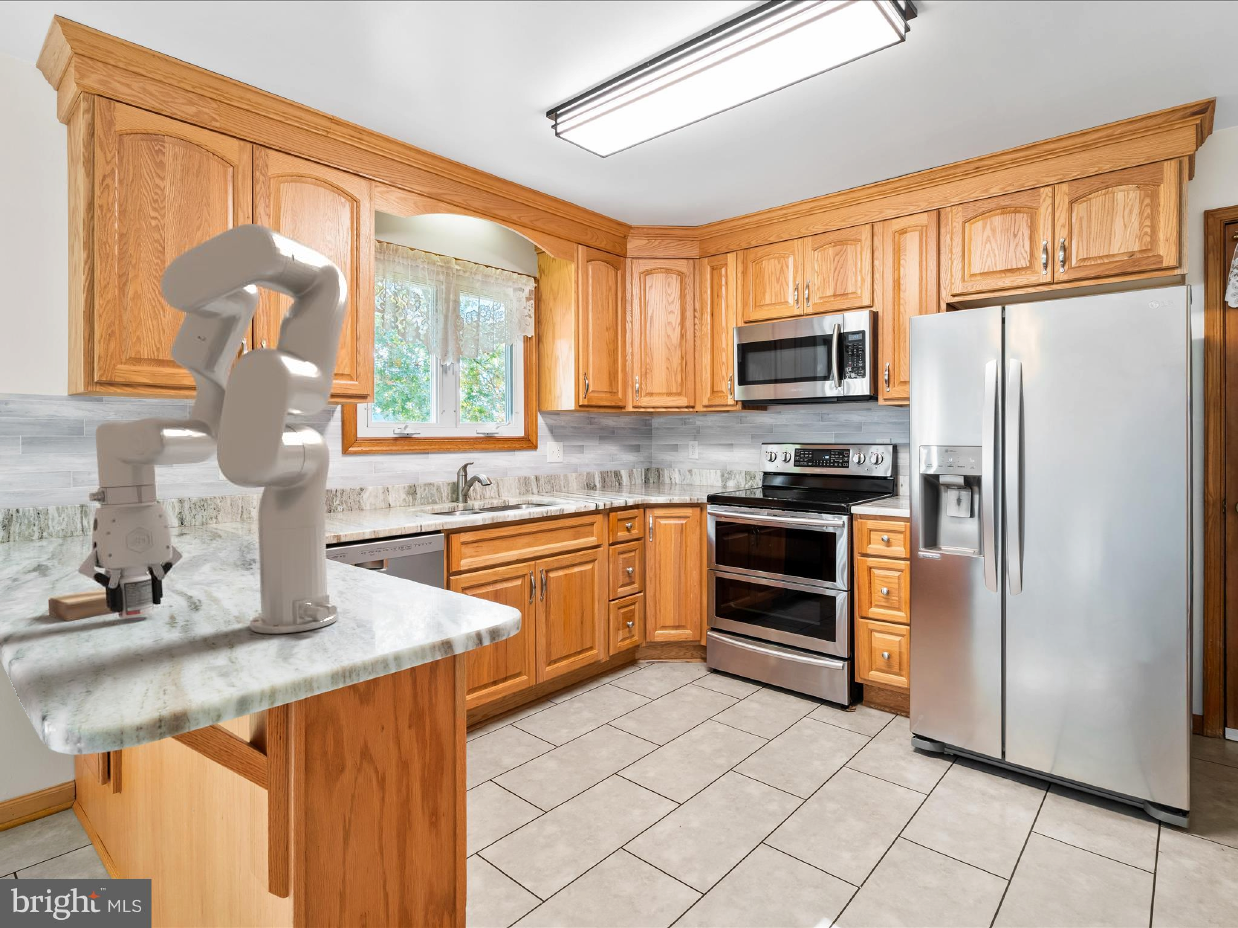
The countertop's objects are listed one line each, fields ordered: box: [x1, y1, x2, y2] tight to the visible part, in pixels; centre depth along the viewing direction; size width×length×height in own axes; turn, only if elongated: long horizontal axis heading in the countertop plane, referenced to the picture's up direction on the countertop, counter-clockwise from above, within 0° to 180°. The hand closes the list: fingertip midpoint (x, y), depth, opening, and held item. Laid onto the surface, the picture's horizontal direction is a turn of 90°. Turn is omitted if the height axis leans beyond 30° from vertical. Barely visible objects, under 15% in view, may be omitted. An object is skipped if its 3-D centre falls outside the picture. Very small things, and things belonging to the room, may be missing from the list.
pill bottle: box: [117, 565, 155, 619], centre depth 111 cm, size 5×5×8 cm
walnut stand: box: [47, 588, 115, 622], centre depth 116 cm, size 8×8×3 cm
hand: (135, 606), depth 111 cm, fingers closed on pill bottle, 4 cm apart
